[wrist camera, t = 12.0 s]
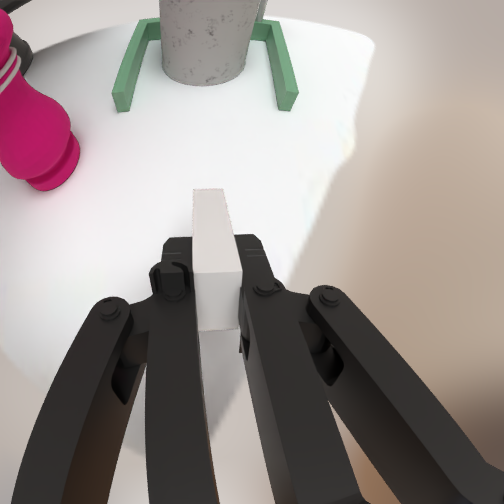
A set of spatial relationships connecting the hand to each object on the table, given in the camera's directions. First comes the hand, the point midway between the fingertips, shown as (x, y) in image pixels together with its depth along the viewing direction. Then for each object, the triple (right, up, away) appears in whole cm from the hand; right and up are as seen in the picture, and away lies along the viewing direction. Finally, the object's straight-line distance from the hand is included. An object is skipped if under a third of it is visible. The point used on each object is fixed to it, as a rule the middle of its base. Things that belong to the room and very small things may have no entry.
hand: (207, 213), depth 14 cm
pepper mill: (-17, +7, +6) cm, 19 cm away
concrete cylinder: (-3, +20, +11) cm, 23 cm away
